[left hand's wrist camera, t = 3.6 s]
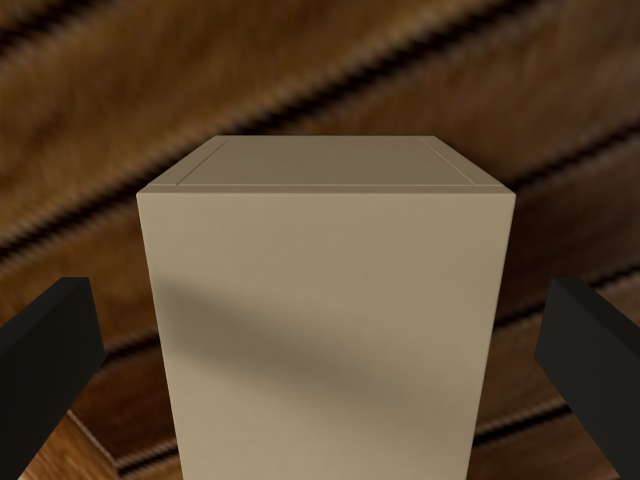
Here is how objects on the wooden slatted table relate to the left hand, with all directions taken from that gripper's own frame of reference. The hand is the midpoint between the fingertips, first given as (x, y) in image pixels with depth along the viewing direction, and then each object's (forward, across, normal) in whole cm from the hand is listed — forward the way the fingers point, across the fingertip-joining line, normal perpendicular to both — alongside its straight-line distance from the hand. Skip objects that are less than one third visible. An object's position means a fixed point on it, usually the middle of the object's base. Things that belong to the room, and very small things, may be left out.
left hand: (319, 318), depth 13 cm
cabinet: (+12, 0, -5) cm, 13 cm away
